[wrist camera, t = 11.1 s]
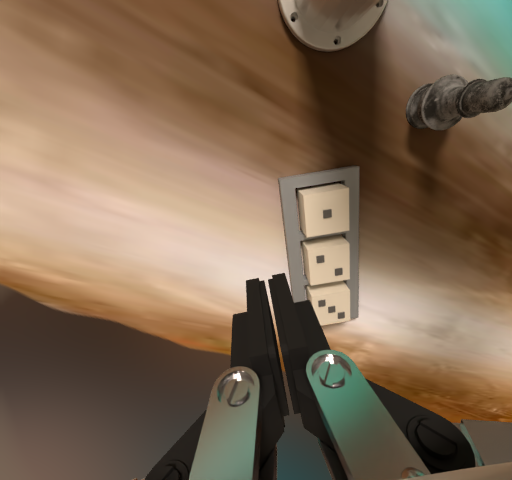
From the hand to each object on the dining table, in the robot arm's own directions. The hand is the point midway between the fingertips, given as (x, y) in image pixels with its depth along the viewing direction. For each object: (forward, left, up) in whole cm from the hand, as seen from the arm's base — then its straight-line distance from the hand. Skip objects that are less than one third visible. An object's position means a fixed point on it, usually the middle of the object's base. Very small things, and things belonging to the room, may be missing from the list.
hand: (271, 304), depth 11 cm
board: (+12, +10, -27) cm, 31 cm away
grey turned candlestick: (-7, +25, -27) cm, 37 cm away
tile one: (+4, +10, -27) cm, 29 cm away
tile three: (+20, +10, -27) cm, 35 cm away
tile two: (+12, +10, -27) cm, 31 cm away
